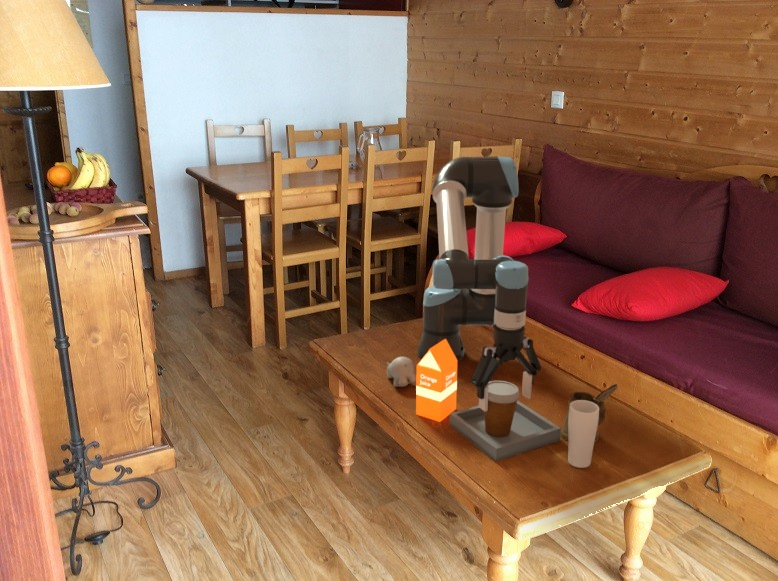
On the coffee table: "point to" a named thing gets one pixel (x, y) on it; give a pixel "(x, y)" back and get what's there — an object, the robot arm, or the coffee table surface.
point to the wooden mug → (589, 397)
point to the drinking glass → (582, 432)
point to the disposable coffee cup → (500, 407)
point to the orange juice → (436, 383)
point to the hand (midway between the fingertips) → (504, 402)
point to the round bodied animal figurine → (401, 371)
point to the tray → (523, 435)
